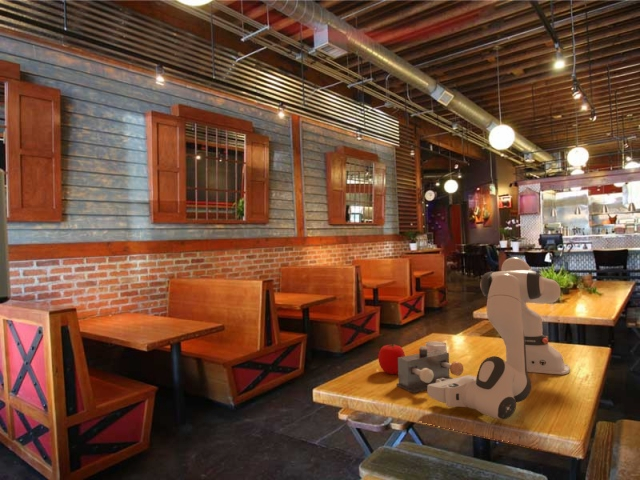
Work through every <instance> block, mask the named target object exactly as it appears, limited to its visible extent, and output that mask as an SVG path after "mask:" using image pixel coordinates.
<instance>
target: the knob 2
mask: <svg viewBox="0 0 640 480" xmlns="http://www.w3.org/2000/svg"><path fill="white" fill-rule="evenodd" d="M441 366H443V367H446V368H449V373H451V374H452V375H454V376H456V377H461V375H462V374H463V372H464V365H463V363H461V362H459V361H452V363H450V362H449V363H447V362H444V361H441Z"/></svg>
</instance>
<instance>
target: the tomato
mask: <svg viewBox="0 0 640 480" xmlns="http://www.w3.org/2000/svg"><path fill="white" fill-rule="evenodd" d="M404 356H406V353H405V351H404V349H403V348H402V347H401V346H400V345H397V344H393V343H391V344H387V345H386V344H385V345H383V346H382V347H380V350H379V352H378V355H377V357H378V360H377V361H378V363H379V366H380V368H381V370H382V371H383V372H385V373H387V374H390V375H398V358H399V357H404Z"/></svg>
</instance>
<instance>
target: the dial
mask: <svg viewBox="0 0 640 480" xmlns="http://www.w3.org/2000/svg"><path fill="white" fill-rule="evenodd" d="M418 351H419V353H418V354H419V355H420V356H428V352H427V349H426V345H419V349H418Z"/></svg>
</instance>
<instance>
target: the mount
mask: <svg viewBox="0 0 640 480" xmlns="http://www.w3.org/2000/svg"><path fill="white" fill-rule="evenodd" d="M441 361H444V362H447V363H450V353H449V352H448V351H447V352H444V351H441V350H435V351H430V352H428V356H420V355H419V353H415V354H409V355H405V356H404V357H399V358H398V374H397V375H398V383H396V387H399V388H400V389H403V390H405V391H407V392H409V393H411V394H417V393H421V392H425V391H427V386H428V385H429V384H433V383H436V379H440V378H445V379H453V378H454V377H451V375H450V369H449V368H446V367H443V366H441ZM411 367H414V368H416V369H419V370H422V369H423V368H428V369H430V370H432V371H433V374H434V377H433V380H432V381H431V382H430V383H426V382H424V381H422V380H421V379H420V375H417V374H415V373H412V372H411Z"/></svg>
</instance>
